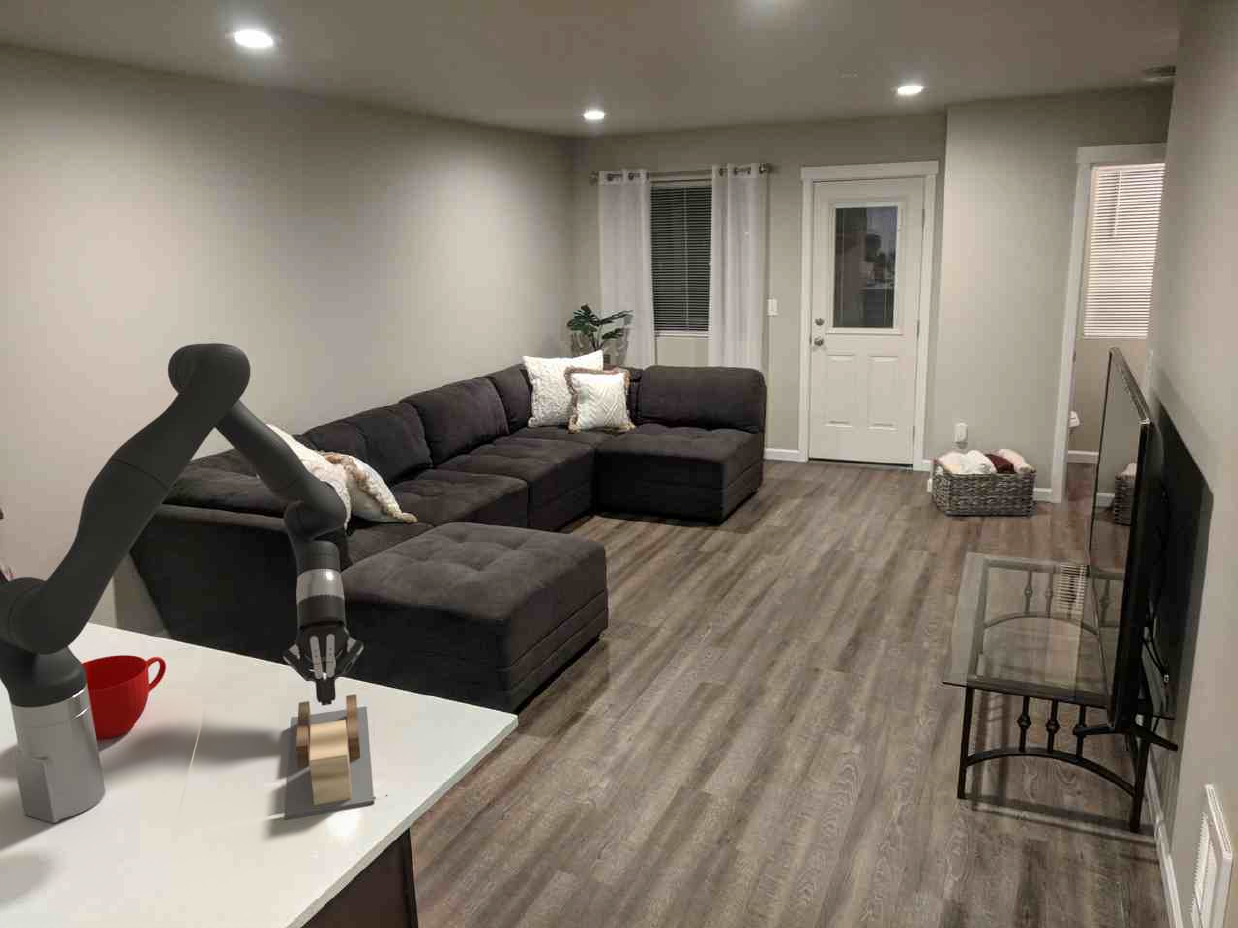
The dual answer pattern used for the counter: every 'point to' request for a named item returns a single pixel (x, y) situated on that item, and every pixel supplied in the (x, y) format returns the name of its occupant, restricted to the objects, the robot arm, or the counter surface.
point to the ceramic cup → (119, 691)
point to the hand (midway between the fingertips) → (326, 703)
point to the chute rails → (305, 728)
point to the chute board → (301, 781)
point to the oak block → (330, 762)
